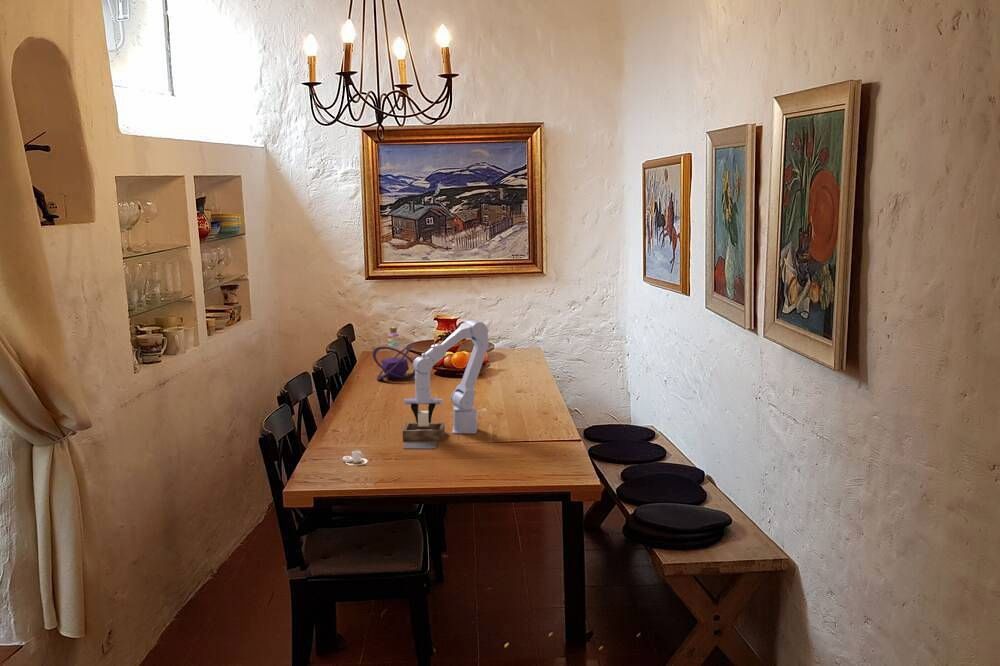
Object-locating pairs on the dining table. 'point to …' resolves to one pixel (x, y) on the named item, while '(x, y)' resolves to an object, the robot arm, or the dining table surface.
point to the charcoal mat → (420, 445)
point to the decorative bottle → (394, 360)
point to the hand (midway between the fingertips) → (423, 422)
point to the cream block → (423, 418)
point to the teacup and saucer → (354, 458)
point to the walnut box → (423, 432)
